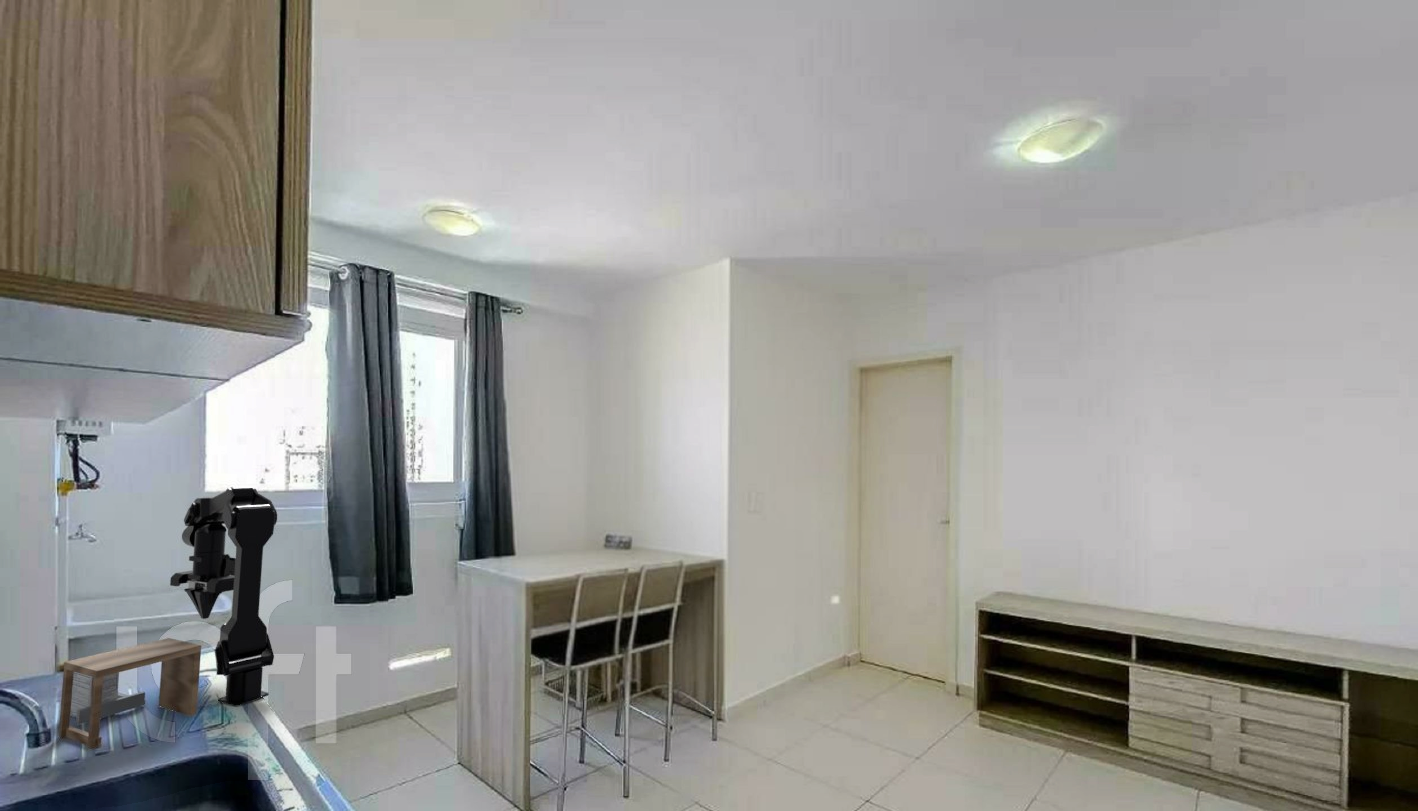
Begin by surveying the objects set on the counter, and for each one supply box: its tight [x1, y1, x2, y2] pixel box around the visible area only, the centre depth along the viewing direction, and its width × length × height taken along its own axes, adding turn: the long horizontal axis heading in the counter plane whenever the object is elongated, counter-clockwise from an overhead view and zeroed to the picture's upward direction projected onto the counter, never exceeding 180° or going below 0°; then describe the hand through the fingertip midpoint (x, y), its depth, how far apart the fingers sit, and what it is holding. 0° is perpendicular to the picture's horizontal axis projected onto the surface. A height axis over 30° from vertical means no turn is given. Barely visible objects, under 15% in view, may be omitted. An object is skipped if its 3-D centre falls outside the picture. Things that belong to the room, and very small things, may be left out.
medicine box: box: [70, 672, 120, 718], centre depth 123 cm, size 8×4×9 cm, turn 66°
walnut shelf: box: [58, 637, 202, 751], centre depth 118 cm, size 11×16×13 cm
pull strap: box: [75, 691, 146, 726], centre depth 127 cm, size 23×11×6 cm, turn 67°
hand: (205, 618), depth 148 cm, fingers closed
